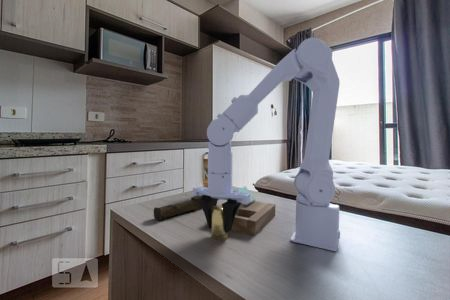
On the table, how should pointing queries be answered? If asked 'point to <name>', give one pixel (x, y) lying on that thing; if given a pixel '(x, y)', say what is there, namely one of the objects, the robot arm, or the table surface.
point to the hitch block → (253, 217)
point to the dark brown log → (177, 208)
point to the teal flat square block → (245, 190)
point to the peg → (218, 224)
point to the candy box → (205, 172)
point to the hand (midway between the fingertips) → (219, 229)
